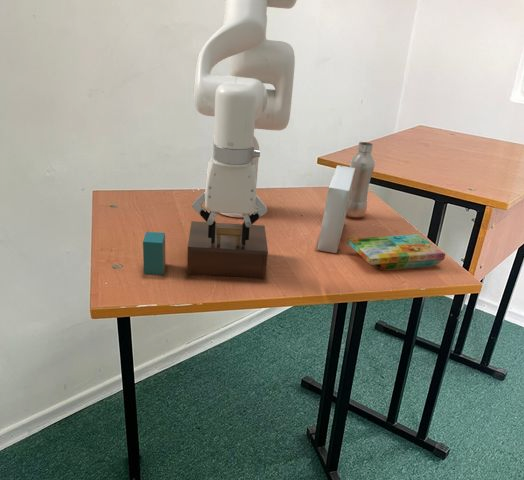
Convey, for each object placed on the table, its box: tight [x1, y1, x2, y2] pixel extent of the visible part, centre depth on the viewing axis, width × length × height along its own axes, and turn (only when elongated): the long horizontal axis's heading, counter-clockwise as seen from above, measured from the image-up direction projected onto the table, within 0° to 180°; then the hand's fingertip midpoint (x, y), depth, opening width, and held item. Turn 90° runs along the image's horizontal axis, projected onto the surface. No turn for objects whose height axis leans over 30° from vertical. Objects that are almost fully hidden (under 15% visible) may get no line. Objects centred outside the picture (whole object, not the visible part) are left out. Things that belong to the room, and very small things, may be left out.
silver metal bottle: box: [346, 141, 376, 218], centre depth 161 cm, size 6×7×20 cm
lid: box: [187, 220, 269, 256], centre depth 126 cm, size 14×17×5 cm
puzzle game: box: [346, 233, 447, 271], centre depth 141 cm, size 12×5×20 cm
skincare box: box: [316, 164, 355, 254], centre depth 147 cm, size 21×6×16 cm, turn 168°
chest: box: [187, 249, 268, 280], centre depth 130 cm, size 14×17×7 cm
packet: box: [142, 231, 166, 276], centre depth 124 cm, size 6×4×8 cm
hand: (228, 241), depth 123 cm, fingers open, 5 cm apart
